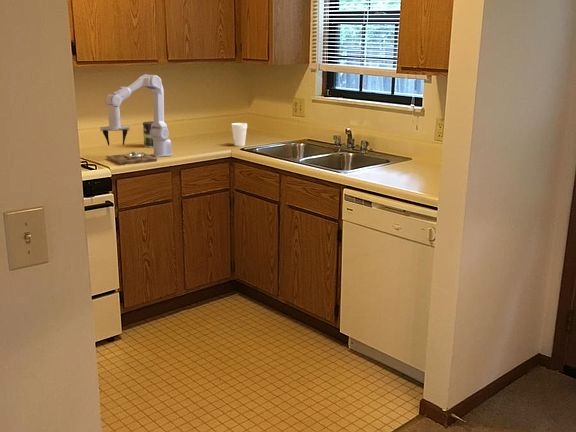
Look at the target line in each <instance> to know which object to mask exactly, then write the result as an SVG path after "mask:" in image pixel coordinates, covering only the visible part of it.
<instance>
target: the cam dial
mask: <svg viewBox="0 0 576 432" xmlns="http://www.w3.org/2000/svg"><path fill="white" fill-rule="evenodd" d="M124 154H125V157H127V159H132V158H139V157H141V154H143V156H144V152H137V151H132V152H127V153H124Z"/></svg>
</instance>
